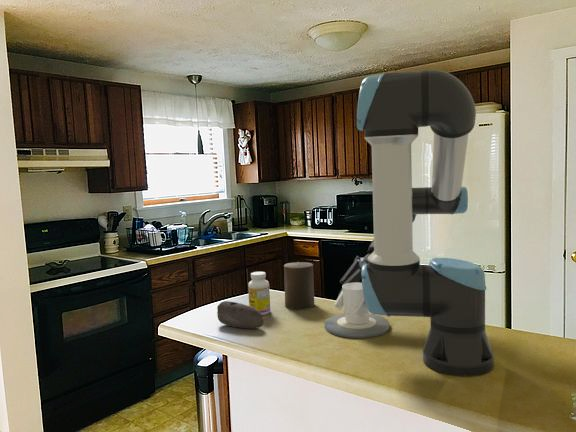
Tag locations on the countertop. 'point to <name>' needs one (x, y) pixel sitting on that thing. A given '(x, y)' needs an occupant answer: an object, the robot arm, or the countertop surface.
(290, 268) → the pillar candle
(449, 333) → the robot arm
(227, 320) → the perforated stone tool
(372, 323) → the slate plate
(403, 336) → the countertop surface
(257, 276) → the supplement bottle
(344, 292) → the white cup
